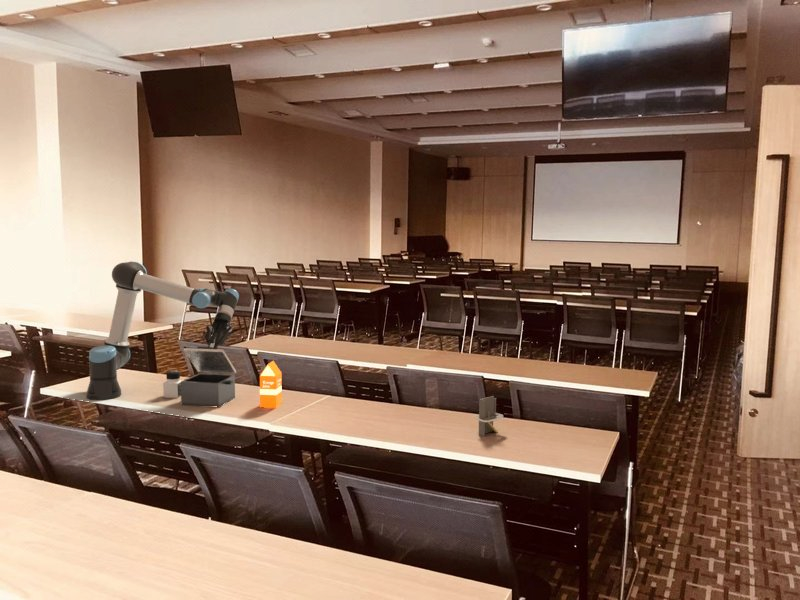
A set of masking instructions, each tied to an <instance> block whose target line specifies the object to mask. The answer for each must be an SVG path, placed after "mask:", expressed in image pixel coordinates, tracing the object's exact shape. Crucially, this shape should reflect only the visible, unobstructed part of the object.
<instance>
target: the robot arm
mask: <svg viewBox="0 0 800 600" xmlns="http://www.w3.org/2000/svg"><path fill="white" fill-rule="evenodd" d="M111 278H112V281H113V282H114V283H115V288H116V289H117V290H118V291H117V297H116V299H115V300H116V302H115V304H114V305H115V307H114V311H113V315H112V321H111V325H110V330H109V333H108V334H109V335H108V338H106V339H104V342H103V345H99V346H95V347H93V348H91V349H90V350H89V352H88V354H89V355H88V361H89V365H88V367H89V384H88V386H87V390H86V399H87V400H93V401H94V400H95V401H96V400H97V401H98V400H99V401H100V400H101V401H103V400H111V399H115V397H116V398H118V396H119V397H121V396H122V388H121V387H120V383H119V381H118V376H117V375H118V373H117V372H118V371H117V369H120V368H122V367H124V366H125V365H126V364H127V363H128V362H129V360H130V359H131V350H130V344H131V343H130V342H129V341H128V339H129V334H130V330H131V323H132V320H133V314H134V310H135V305H136V301H137V294H139V293H140V292H142V291H146V292H149V293H151V294H155V295H159V296H162V297H166V298H169V299H172V300H176V301H179V302H183V303H186V304H190V305H192V306H194V307H195V308H198V309H206V308H208V307H210V306H214V307H216V308H217V307H218V309H217V311H216V314H215V316H214V319H213V323H212V324H211V325H210V326H209V325H206V326H205V328H206V336H205V343H206V345H207V347H213V349H217V350H218V347H219V346H223V345H224V343H225V342H226V340H227V338H228V337H229V335H230V334H231V333H232V332H233V327H231V326H230V325H231V322H232V318H233V315H234V312H235V309H236V307H237V304H238V301H239V298H240V294H239V292H238V291H237V290H236V289H234V288H227V289H225V290H224V292H223V291H218V290H213V289H211V288H210V289H208V288H203V287H200V288H198V289H197V288H193V287H189V286H187V285H184V284H179V283H177V282H174V281H171V280H168V279H167V280H166V279H163V278H159V277H157V276H154V275H149V274H148V271H147V269H146V267H145V266H144V265H143V264H142V263H140V262H137V261H125V262H119V263H118V264H116V265H115V266H114V267H113V269H112V272H111ZM120 395H121V396H120ZM110 398H111V399H110Z"/></svg>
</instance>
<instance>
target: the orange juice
mask: <svg viewBox="0 0 800 600" xmlns="http://www.w3.org/2000/svg"><path fill="white" fill-rule="evenodd" d="M282 374H283V373H282V371H281V370H280V368H279V367H278V365H277V364H276V363H275V360H272V361H270V362H269V363H268V364H267V365H266V366H265V368H264V369H263V370H262V372H261V373H260V375H259V408H261V407H264V408H265V409H277V408H278V407H279V406H281V403H282V402H283V399H282V398H283V395H282V393H283V391H282V389H283V388H282V381H283V380H282V378H283V376H282ZM264 408H263V409H264ZM261 409H262V408H261Z"/></svg>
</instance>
